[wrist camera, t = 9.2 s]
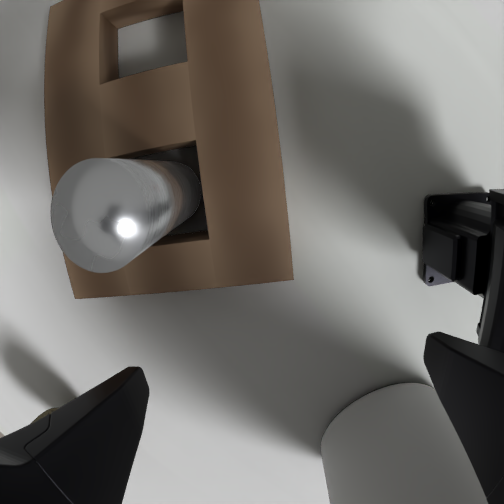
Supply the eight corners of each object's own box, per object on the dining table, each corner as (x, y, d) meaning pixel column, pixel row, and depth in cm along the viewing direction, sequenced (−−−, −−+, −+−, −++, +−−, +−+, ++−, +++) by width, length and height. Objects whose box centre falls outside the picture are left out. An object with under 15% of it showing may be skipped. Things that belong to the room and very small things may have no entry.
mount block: (250, -28, 15) (249, -51, 12) (288, 264, 20) (293, 279, 18) (69, 19, 16) (50, 6, 13) (94, 283, 21) (75, 299, 18)
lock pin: (196, 156, 19) (138, 146, 9) (205, 219, 20) (157, 267, 10) (137, 167, 19) (43, 172, 9) (146, 227, 20) (63, 277, 10)
